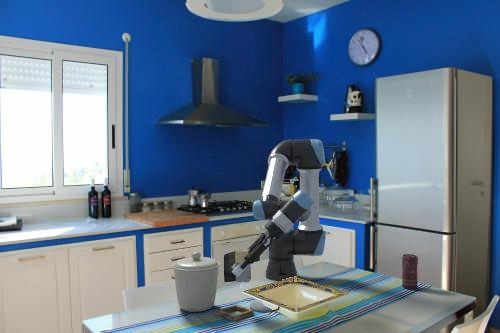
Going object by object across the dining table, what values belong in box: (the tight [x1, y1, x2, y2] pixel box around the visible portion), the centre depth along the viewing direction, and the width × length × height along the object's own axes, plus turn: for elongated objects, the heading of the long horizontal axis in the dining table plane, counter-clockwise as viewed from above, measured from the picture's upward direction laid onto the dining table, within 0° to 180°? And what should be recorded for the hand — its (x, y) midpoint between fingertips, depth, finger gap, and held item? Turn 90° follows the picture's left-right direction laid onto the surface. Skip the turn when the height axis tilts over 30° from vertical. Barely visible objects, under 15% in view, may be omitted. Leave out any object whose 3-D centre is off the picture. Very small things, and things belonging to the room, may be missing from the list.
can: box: [401, 253, 419, 291], centre depth 188 cm, size 6×6×14 cm
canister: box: [171, 251, 221, 313], centre depth 165 cm, size 18×18×21 cm
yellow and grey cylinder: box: [234, 248, 252, 283], centre depth 160 cm, size 5×5×11 cm
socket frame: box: [216, 304, 255, 322], centre depth 157 cm, size 9×9×2 cm
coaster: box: [249, 300, 275, 313], centre depth 165 cm, size 11×11×1 cm
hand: (234, 272), depth 159 cm, fingers closed on yellow and grey cylinder, 6 cm apart
